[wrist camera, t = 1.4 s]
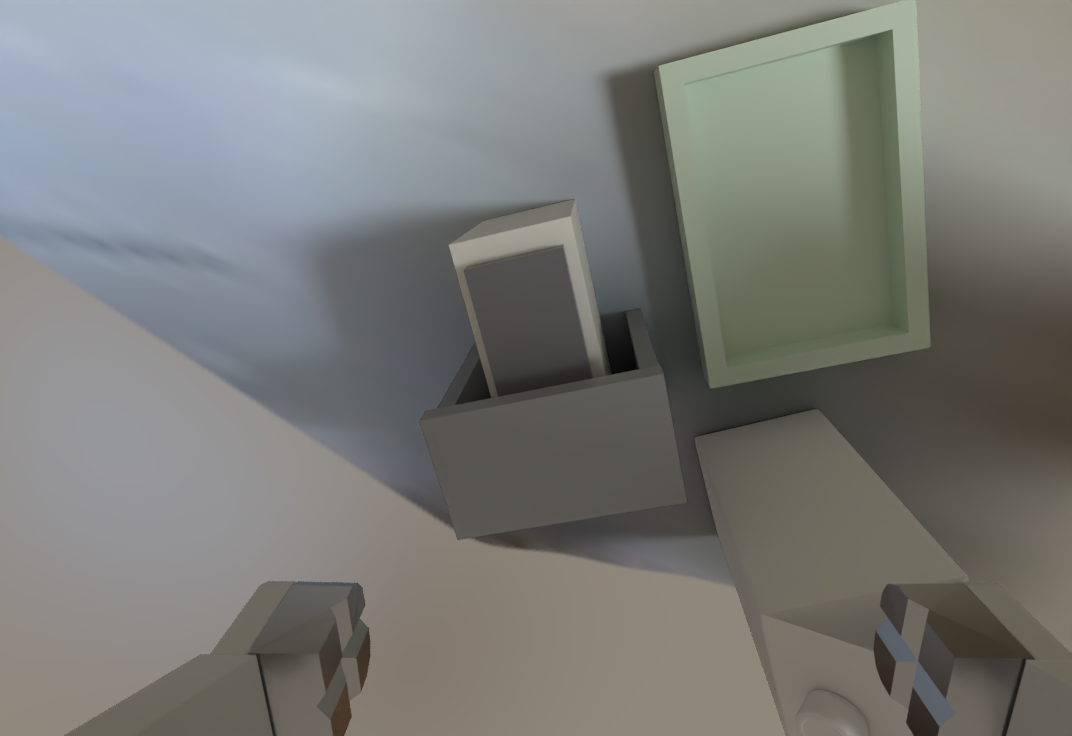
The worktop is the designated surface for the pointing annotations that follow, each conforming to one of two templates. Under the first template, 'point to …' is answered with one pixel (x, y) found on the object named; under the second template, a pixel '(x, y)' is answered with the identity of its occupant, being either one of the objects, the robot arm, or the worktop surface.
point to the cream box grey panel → (531, 300)
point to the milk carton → (816, 566)
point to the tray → (801, 195)
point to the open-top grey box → (555, 447)
